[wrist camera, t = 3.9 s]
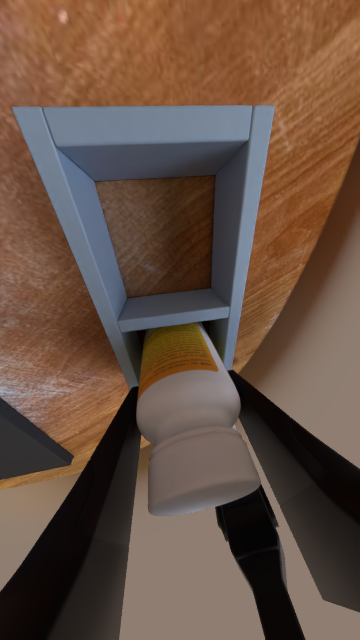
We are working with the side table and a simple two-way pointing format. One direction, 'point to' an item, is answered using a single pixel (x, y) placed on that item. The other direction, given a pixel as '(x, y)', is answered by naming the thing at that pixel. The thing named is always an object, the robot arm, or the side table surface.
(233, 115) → the holder
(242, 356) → the side table surface
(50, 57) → the side table surface
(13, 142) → the side table surface
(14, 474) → the mat
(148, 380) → the supplement bottle
